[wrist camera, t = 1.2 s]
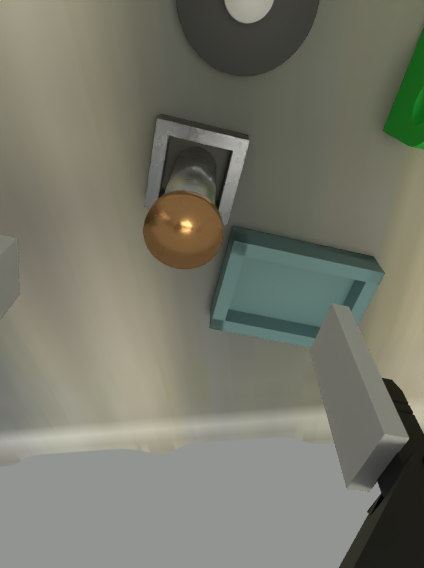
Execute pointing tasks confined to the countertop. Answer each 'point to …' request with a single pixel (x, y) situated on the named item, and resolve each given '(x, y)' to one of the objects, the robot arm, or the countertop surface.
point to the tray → (288, 286)
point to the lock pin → (186, 214)
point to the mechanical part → (410, 103)
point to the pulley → (246, 31)
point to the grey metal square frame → (199, 134)
